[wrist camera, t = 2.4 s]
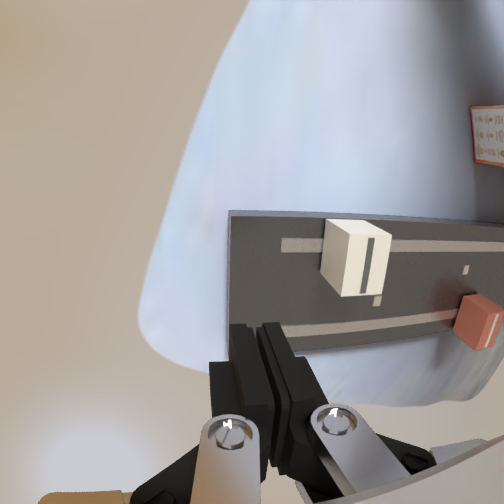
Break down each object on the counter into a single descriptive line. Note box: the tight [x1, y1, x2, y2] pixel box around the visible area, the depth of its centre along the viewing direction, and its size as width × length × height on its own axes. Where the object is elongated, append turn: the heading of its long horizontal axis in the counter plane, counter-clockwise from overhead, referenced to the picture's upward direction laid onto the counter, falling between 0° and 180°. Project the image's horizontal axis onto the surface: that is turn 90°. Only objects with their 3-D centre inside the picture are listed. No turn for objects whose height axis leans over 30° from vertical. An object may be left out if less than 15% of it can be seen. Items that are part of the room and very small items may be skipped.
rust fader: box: [452, 294, 504, 351], centre depth 25 cm, size 4×3×4 cm
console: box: [227, 210, 504, 354], centre depth 26 cm, size 11×32×2 cm, turn 88°
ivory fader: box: [320, 219, 392, 297], centre depth 21 cm, size 4×3×4 cm
